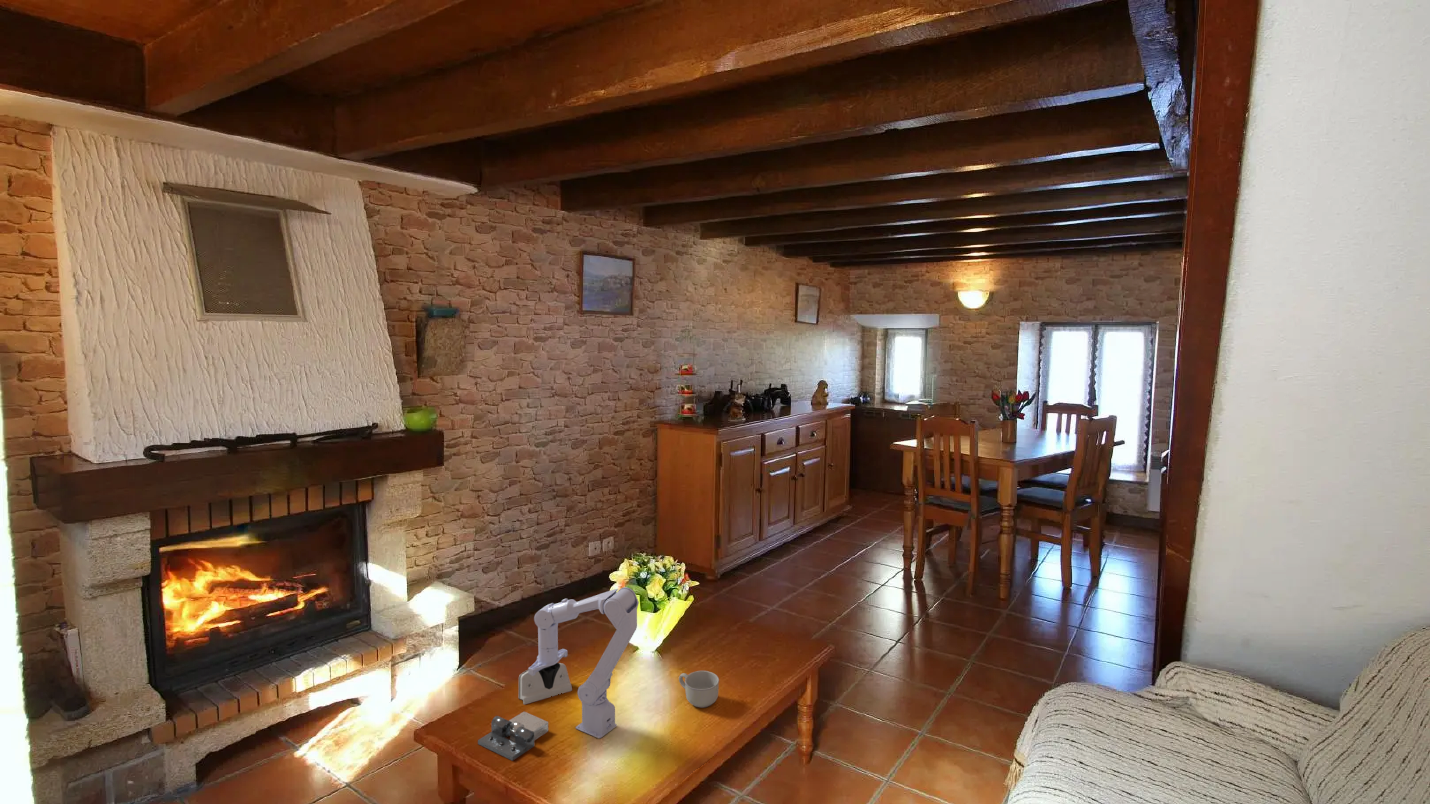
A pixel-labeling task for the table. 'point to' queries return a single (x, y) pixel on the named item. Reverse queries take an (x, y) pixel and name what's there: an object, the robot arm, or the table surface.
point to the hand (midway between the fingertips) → (548, 687)
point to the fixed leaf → (504, 746)
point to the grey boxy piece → (528, 725)
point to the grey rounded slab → (542, 685)
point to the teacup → (700, 687)
